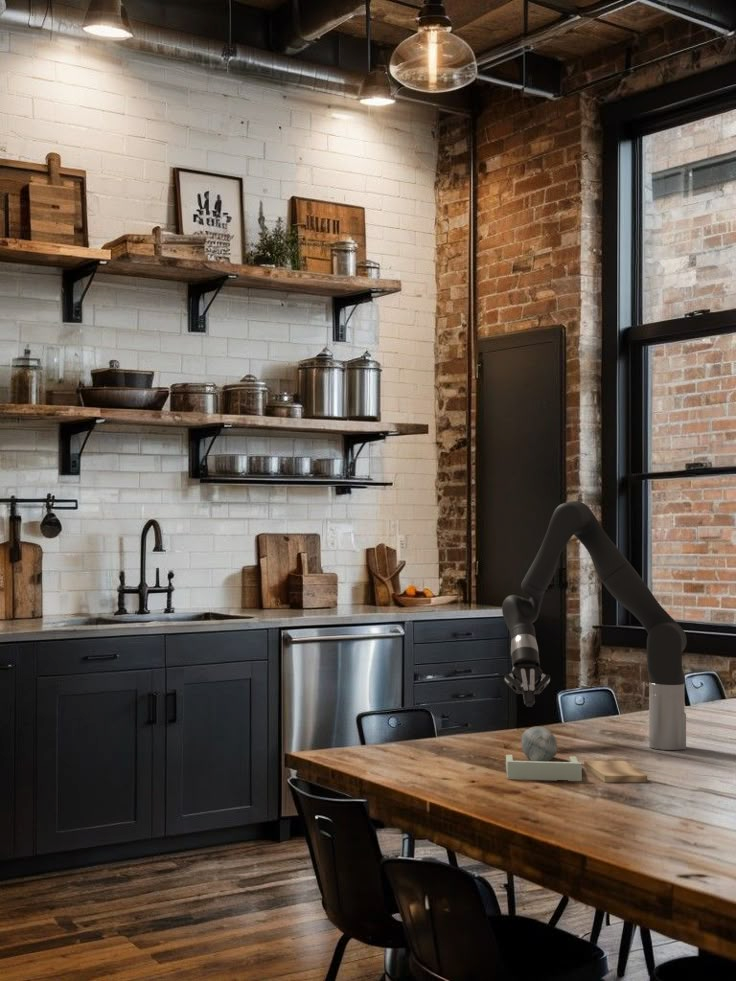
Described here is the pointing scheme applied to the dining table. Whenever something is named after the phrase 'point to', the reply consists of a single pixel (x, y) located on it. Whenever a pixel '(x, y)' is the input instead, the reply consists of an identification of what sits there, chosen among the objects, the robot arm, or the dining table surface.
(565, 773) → the cradle
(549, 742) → the grey stone
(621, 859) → the dining table surface
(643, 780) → the oak board
